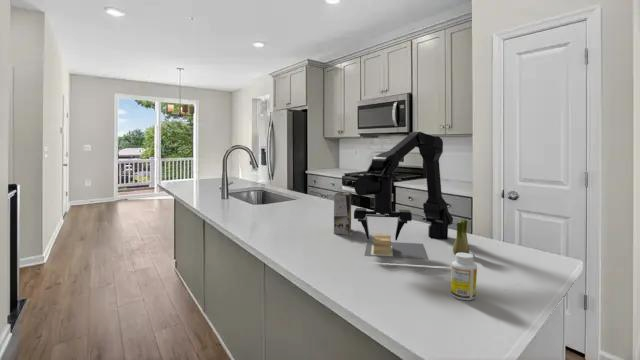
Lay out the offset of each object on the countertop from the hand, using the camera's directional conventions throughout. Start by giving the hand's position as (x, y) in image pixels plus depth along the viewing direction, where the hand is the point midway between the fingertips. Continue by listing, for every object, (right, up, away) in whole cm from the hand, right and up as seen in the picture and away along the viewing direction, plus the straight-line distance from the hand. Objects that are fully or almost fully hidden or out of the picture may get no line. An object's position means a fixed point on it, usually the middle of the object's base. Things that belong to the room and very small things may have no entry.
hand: (381, 239), depth 118 cm
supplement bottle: (+14, -8, -34) cm, 37 cm away
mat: (+5, -4, +2) cm, 7 cm away
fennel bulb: (+25, -5, -3) cm, 26 cm away
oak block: (0, -4, 0) cm, 4 cm away
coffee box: (-11, -2, +29) cm, 32 cm away
